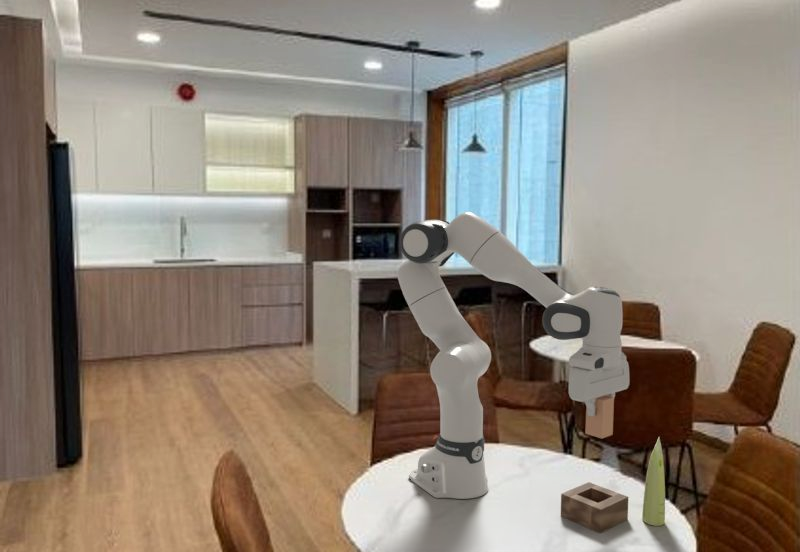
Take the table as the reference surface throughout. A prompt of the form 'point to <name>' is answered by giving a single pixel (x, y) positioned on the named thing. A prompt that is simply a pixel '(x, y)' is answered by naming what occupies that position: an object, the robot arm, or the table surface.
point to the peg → (601, 418)
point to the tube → (655, 489)
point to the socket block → (594, 507)
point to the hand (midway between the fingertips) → (599, 413)
